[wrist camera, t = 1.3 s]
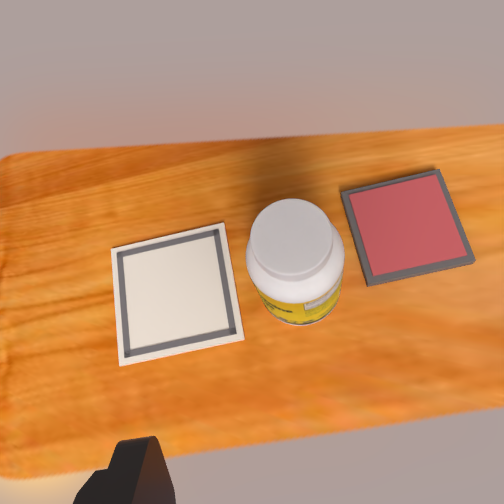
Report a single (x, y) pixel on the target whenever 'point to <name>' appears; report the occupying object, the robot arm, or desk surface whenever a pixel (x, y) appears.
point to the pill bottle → (296, 261)
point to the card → (175, 295)
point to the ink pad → (406, 228)
